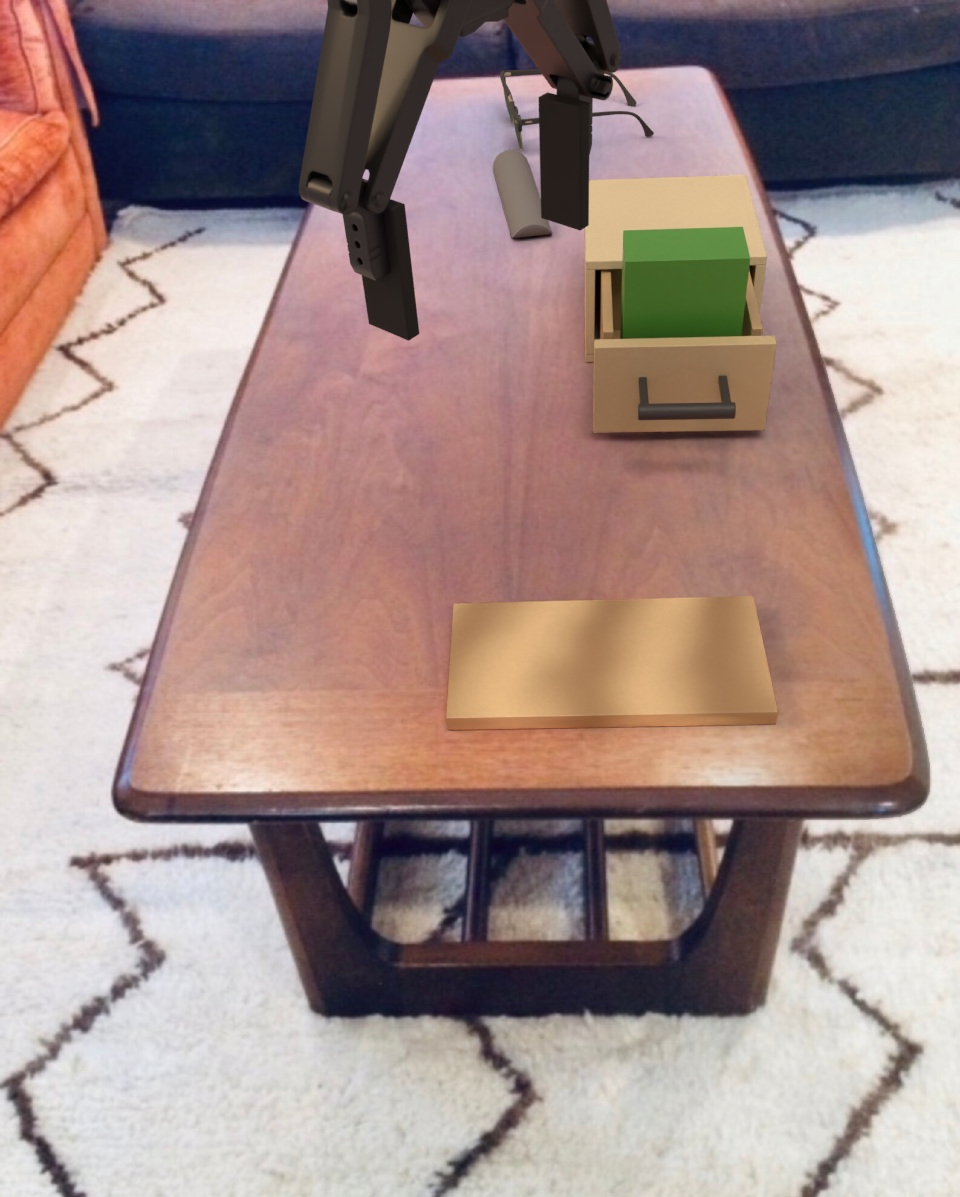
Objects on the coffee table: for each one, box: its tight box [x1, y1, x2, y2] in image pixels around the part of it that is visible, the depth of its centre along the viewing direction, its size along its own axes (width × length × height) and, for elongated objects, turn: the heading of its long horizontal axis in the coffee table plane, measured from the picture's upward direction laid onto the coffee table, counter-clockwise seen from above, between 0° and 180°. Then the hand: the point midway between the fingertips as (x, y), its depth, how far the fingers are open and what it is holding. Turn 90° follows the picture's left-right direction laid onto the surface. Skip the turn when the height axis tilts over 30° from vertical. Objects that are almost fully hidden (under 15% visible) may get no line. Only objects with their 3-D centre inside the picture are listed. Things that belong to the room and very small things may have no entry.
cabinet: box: [583, 174, 768, 363], centre depth 98 cm, size 16×15×10 cm
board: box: [445, 595, 779, 731], centre depth 70 cm, size 20×10×1 cm, turn 88°
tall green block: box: [620, 227, 750, 339], centre depth 86 cm, size 5×9×12 cm, turn 86°
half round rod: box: [492, 149, 553, 239], centre depth 120 cm, size 4×20×2 cm, turn 6°
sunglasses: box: [499, 68, 655, 151], centre depth 132 cm, size 16×17×5 cm
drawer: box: [592, 269, 778, 434], centre depth 87 cm, size 19×13×8 cm
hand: (484, 272), depth 57 cm, fingers open, 13 cm apart
